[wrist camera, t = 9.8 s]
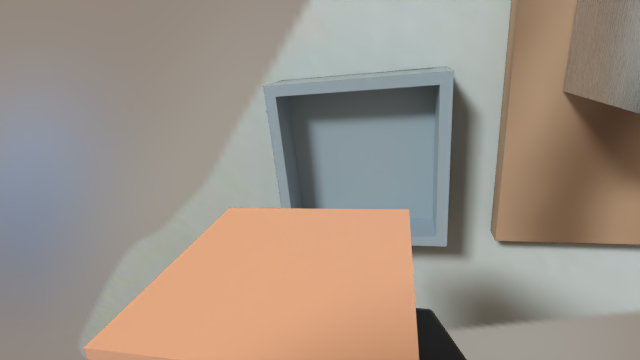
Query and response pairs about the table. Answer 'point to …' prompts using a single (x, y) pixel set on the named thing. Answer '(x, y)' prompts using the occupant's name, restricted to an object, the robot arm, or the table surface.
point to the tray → (366, 144)
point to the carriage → (606, 53)
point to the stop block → (278, 292)
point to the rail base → (560, 143)
